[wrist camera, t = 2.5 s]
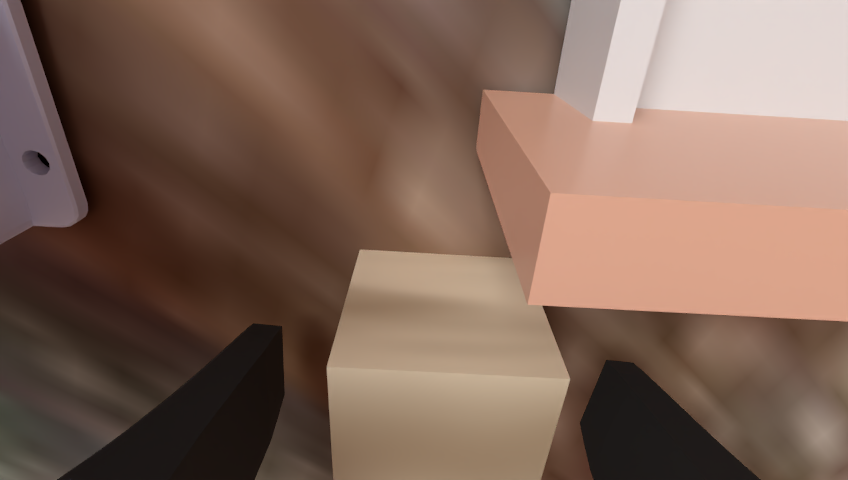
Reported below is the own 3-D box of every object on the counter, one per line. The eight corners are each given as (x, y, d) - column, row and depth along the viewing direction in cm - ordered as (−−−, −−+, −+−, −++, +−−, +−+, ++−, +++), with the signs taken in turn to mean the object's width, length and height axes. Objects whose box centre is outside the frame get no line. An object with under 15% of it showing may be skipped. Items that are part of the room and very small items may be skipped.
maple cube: (500, 377, 13) (528, 520, 9) (361, 370, 13) (335, 512, 9) (523, 257, 11) (570, 379, 7) (360, 247, 11) (326, 366, 7)
